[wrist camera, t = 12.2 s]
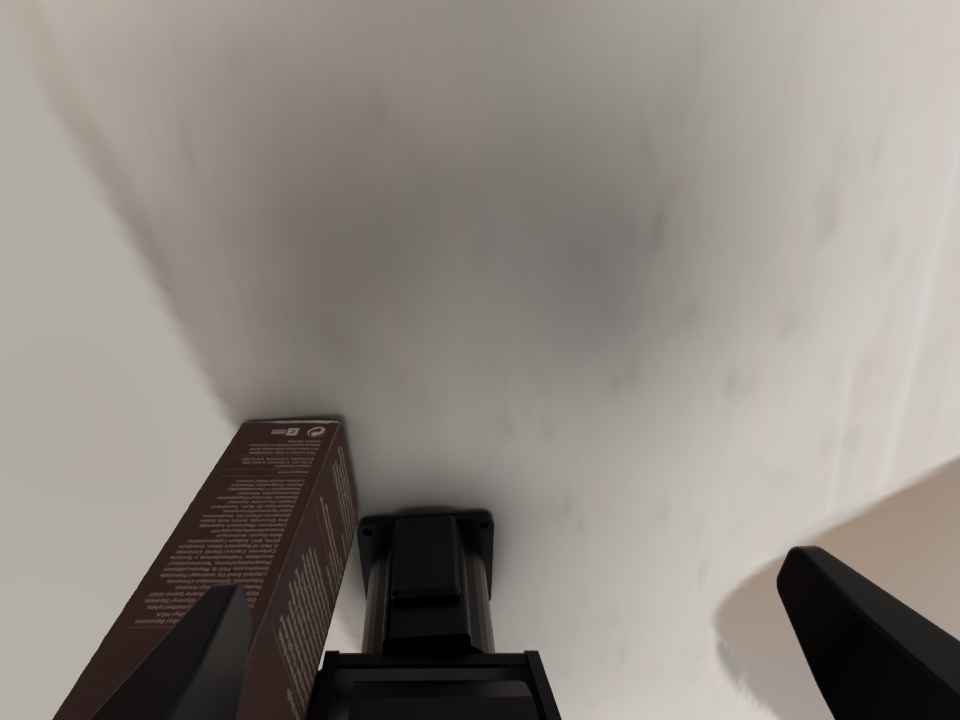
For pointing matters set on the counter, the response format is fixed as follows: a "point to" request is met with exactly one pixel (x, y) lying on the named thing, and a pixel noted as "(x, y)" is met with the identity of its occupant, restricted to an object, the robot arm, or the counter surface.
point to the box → (248, 567)
